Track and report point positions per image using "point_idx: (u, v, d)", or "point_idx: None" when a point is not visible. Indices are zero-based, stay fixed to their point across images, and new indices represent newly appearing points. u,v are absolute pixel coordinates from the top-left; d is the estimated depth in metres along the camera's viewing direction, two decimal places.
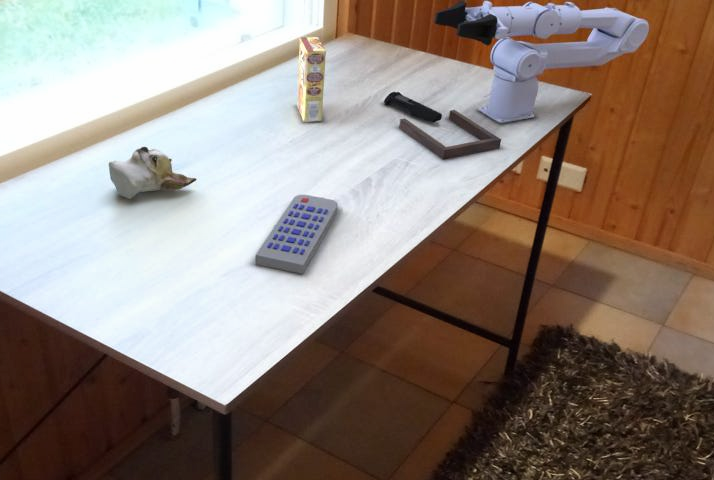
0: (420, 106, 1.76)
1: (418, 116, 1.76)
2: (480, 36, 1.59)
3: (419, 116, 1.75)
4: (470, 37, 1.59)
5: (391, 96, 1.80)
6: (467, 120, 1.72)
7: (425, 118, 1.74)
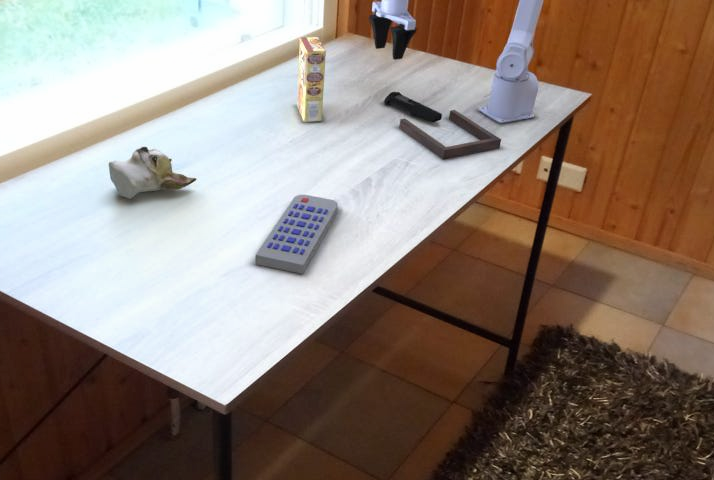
0: (420, 106, 1.76)
1: (418, 116, 1.76)
2: (407, 36, 1.76)
3: (419, 116, 1.75)
4: (405, 46, 1.78)
5: (391, 96, 1.80)
6: (467, 120, 1.72)
7: (425, 118, 1.74)
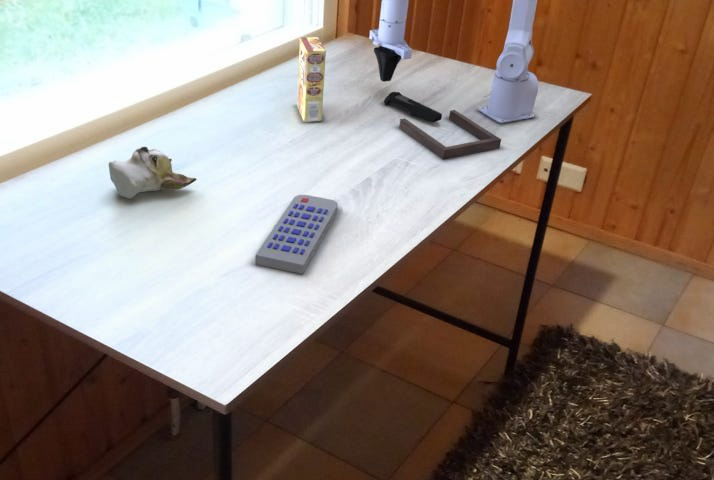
0: (420, 106, 1.76)
1: (418, 116, 1.76)
2: (395, 59, 1.82)
3: (419, 116, 1.75)
4: (394, 69, 1.84)
5: (391, 96, 1.80)
6: (467, 120, 1.72)
7: (425, 118, 1.74)
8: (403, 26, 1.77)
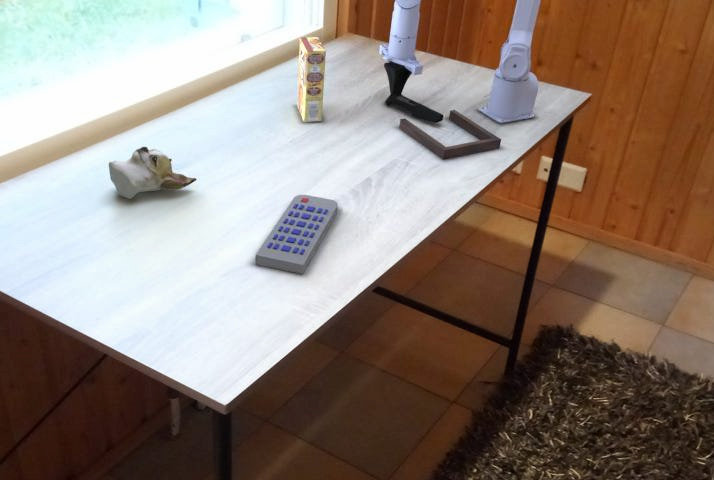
0: (421, 106, 1.75)
1: (419, 117, 1.75)
2: (405, 74, 1.80)
3: (420, 117, 1.75)
4: (404, 84, 1.82)
5: (392, 97, 1.80)
6: (467, 120, 1.72)
7: (426, 119, 1.74)
8: (414, 41, 1.74)
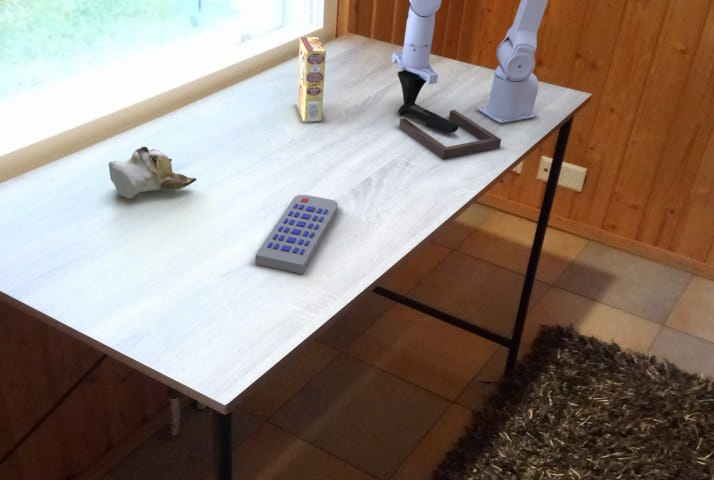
0: (435, 116, 1.71)
1: (434, 127, 1.71)
2: (419, 83, 1.76)
3: (435, 127, 1.71)
4: (417, 93, 1.78)
5: (406, 106, 1.76)
6: (467, 120, 1.72)
7: (441, 129, 1.70)
8: (428, 50, 1.70)
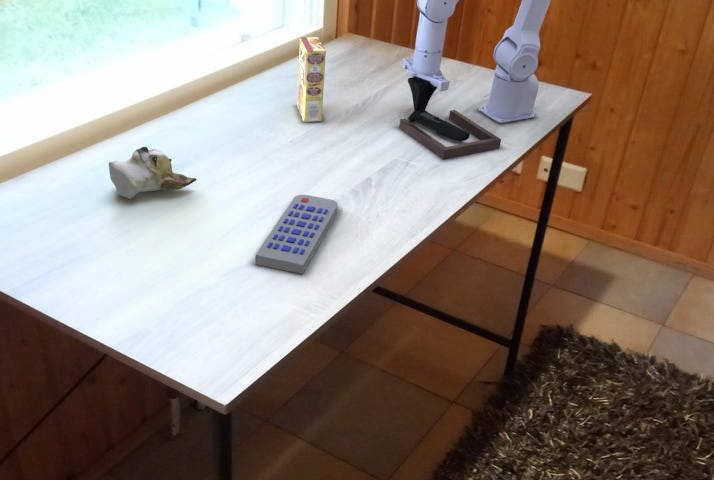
0: (446, 124, 1.68)
1: (444, 135, 1.68)
2: (430, 90, 1.73)
3: (445, 135, 1.68)
4: (428, 100, 1.75)
5: (416, 113, 1.73)
6: (467, 120, 1.72)
7: (452, 137, 1.67)
8: (440, 56, 1.67)
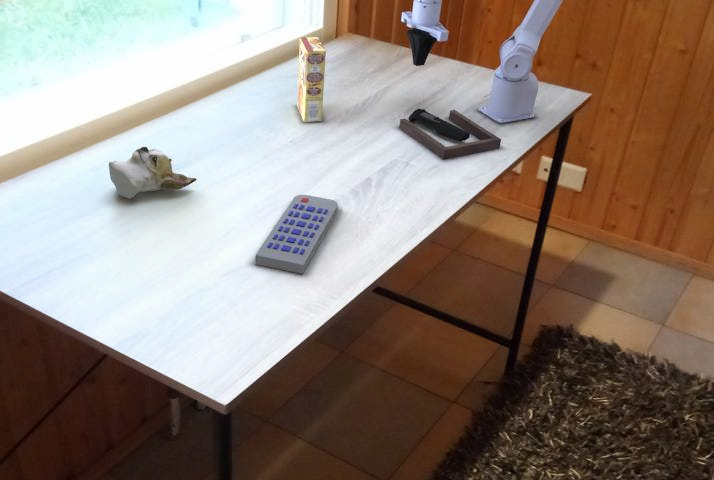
0: (446, 124, 1.68)
1: (444, 135, 1.68)
2: (429, 42, 1.73)
3: (446, 135, 1.68)
4: (428, 53, 1.75)
5: (416, 113, 1.73)
6: (467, 120, 1.72)
7: (452, 137, 1.67)
8: (439, 7, 1.68)
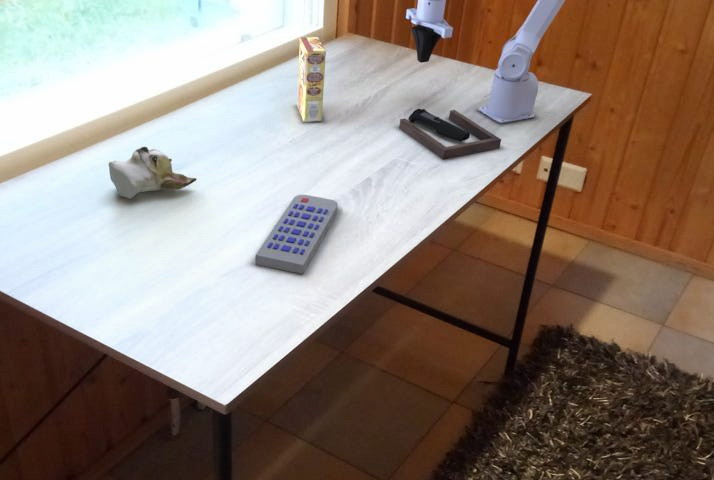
0: (446, 124, 1.68)
1: (444, 135, 1.68)
2: (434, 39, 1.75)
3: (446, 135, 1.68)
4: (432, 49, 1.77)
5: (416, 113, 1.73)
6: (467, 120, 1.72)
7: (452, 137, 1.67)
8: (443, 4, 1.69)
